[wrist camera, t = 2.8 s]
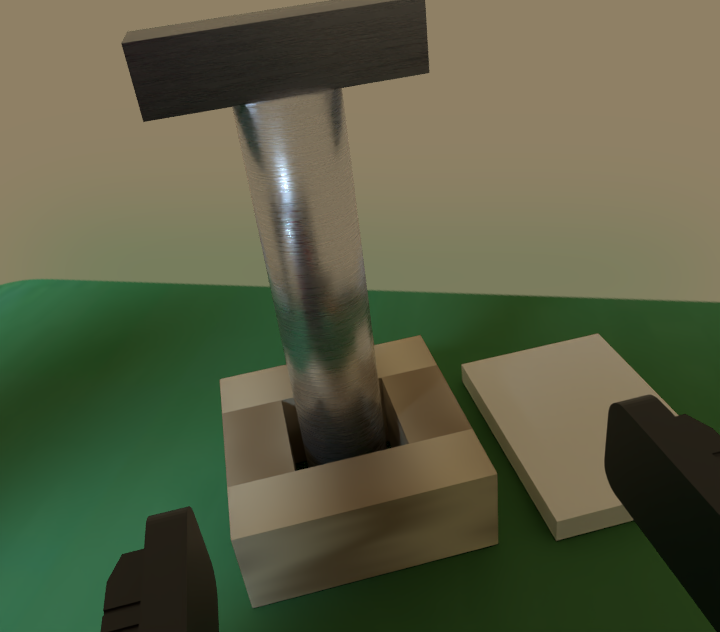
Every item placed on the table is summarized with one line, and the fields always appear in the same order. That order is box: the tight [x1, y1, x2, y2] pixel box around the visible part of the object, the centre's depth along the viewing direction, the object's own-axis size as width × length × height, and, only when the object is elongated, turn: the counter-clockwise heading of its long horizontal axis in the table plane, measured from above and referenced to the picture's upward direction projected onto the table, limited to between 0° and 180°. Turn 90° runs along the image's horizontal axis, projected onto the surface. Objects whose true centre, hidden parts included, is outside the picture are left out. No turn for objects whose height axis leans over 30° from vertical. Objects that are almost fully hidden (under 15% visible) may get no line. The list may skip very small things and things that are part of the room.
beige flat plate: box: [462, 334, 679, 541], centre depth 29 cm, size 7×10×1 cm
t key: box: [122, 0, 429, 468], centre depth 23 cm, size 8×3×18 cm, turn 103°
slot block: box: [220, 335, 498, 608], centre depth 27 cm, size 9×9×4 cm
